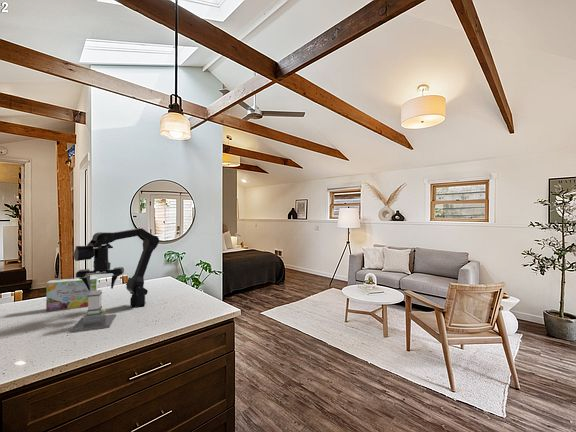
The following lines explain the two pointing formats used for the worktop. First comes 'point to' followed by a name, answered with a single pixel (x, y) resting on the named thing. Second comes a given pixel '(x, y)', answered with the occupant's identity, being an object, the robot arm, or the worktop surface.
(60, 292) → the snack box
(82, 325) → the stand base
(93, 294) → the gray rectangular plug
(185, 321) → the worktop surface
